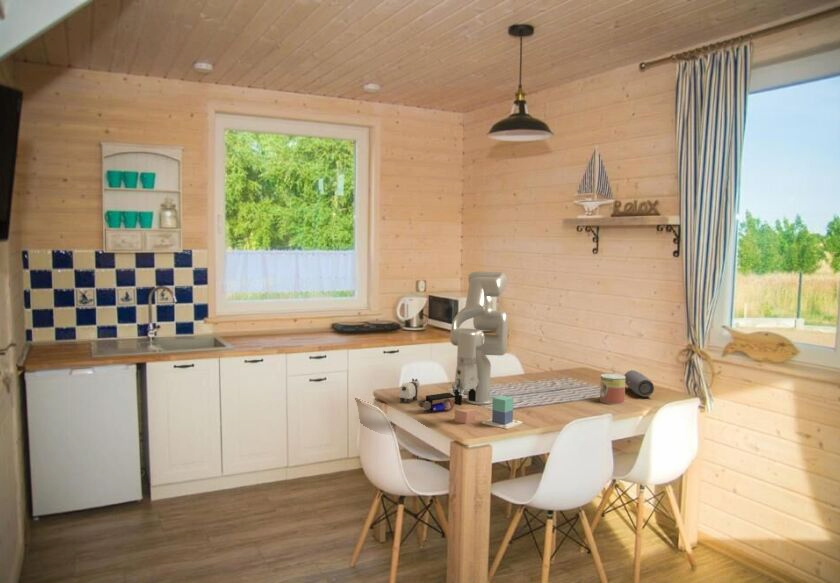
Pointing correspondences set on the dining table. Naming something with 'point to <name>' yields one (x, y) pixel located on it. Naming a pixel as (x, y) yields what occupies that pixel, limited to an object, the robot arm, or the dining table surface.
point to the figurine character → (432, 407)
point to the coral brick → (465, 415)
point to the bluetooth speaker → (639, 383)
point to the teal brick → (502, 404)
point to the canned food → (612, 389)
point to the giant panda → (409, 391)
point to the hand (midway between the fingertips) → (465, 402)
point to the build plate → (502, 420)
